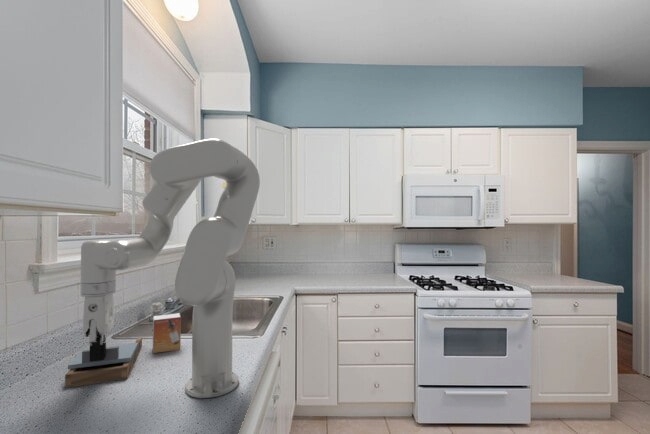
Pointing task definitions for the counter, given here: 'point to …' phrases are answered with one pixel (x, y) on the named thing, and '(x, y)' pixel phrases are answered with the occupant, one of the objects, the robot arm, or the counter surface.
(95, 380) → the brown wooden shallow tray
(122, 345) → the cover
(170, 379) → the counter surface
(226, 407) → the counter surface
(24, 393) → the counter surface
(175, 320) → the small box
